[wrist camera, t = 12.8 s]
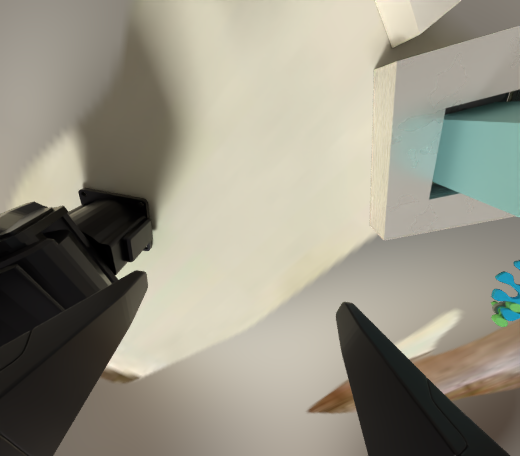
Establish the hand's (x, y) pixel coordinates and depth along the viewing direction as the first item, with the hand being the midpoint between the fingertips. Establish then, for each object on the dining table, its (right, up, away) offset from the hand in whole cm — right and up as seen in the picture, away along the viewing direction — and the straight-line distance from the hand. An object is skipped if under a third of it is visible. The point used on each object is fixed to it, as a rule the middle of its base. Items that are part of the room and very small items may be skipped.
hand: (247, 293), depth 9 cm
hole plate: (+18, +11, +9) cm, 22 cm away
